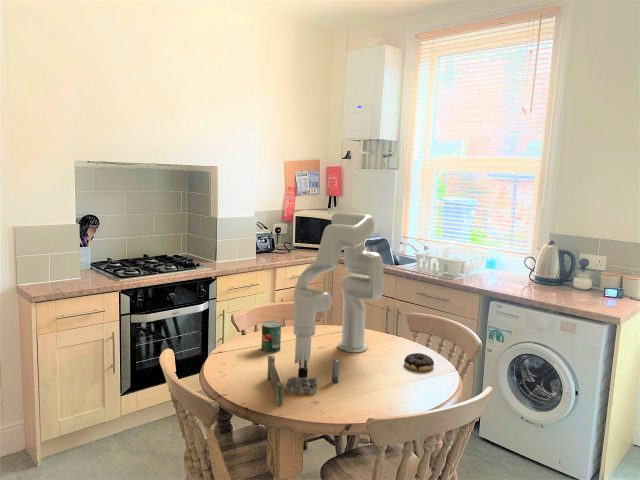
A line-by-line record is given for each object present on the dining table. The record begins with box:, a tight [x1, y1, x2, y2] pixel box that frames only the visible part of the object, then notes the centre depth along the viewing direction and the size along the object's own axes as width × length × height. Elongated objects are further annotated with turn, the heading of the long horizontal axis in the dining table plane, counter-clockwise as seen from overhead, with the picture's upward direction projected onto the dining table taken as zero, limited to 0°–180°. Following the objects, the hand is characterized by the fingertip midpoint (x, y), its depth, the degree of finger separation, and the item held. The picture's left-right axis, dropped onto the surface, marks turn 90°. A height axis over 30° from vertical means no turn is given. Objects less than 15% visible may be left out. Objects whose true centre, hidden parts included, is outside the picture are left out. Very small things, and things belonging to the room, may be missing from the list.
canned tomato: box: [261, 320, 282, 354], centre depth 211 cm, size 8×8×11 cm
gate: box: [270, 362, 284, 406], centre depth 172 cm, size 2×20×7 cm, turn 13°
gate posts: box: [267, 355, 340, 384], centre depth 182 cm, size 2×25×8 cm, turn 88°
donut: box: [403, 352, 435, 372], centre depth 200 cm, size 11×12×4 cm
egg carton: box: [285, 376, 318, 396], centre depth 175 cm, size 11×8×4 cm
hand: (302, 378), depth 182 cm, fingers closed
